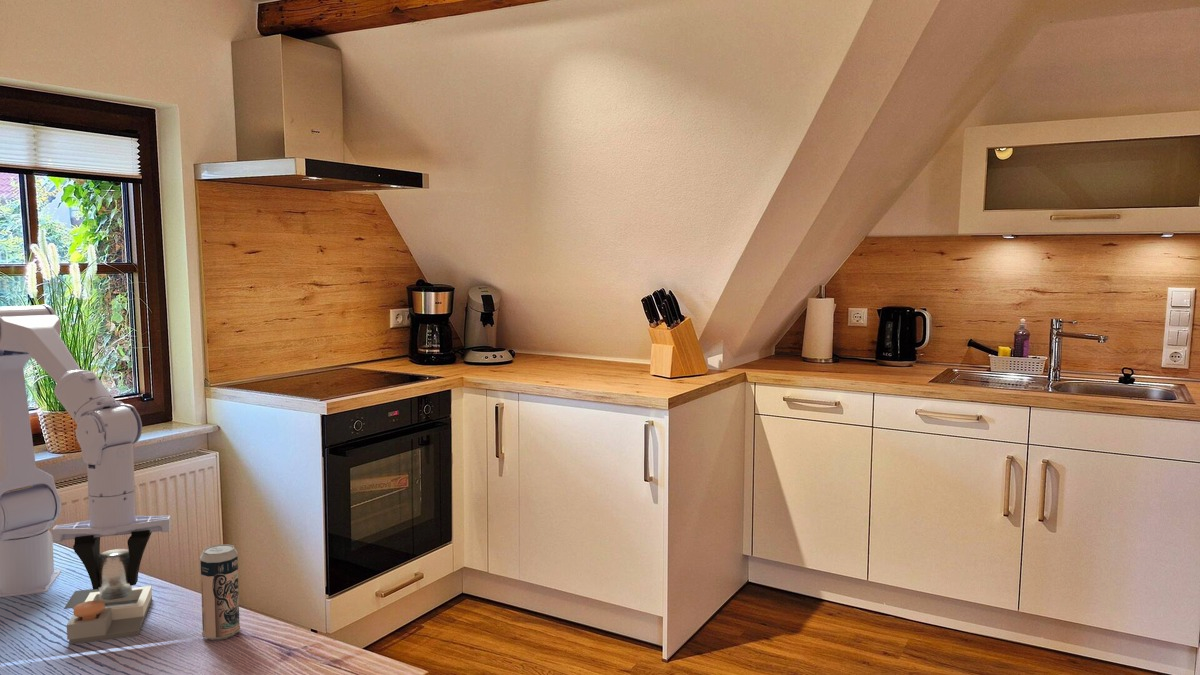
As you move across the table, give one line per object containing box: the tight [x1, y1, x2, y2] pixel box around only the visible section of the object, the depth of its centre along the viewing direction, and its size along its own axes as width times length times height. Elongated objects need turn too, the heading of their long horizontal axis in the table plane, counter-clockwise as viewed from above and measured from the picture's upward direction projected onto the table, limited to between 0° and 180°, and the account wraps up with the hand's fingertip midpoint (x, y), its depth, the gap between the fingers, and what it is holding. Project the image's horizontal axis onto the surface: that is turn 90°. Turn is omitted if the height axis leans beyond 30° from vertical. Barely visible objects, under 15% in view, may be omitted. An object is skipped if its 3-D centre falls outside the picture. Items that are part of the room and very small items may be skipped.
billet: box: [98, 548, 133, 600], centre depth 120 cm, size 4×4×6 cm
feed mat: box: [63, 588, 100, 610], centre depth 126 cm, size 7×7×1 cm
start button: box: [72, 600, 105, 620], centre depth 113 cm, size 4×4×3 cm
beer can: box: [199, 543, 241, 641], centre depth 114 cm, size 5×5×12 cm
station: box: [66, 585, 153, 645], centre depth 118 cm, size 13×8×3 cm, turn 21°
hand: (115, 584), depth 120 cm, fingers closed on billet, 4 cm apart
